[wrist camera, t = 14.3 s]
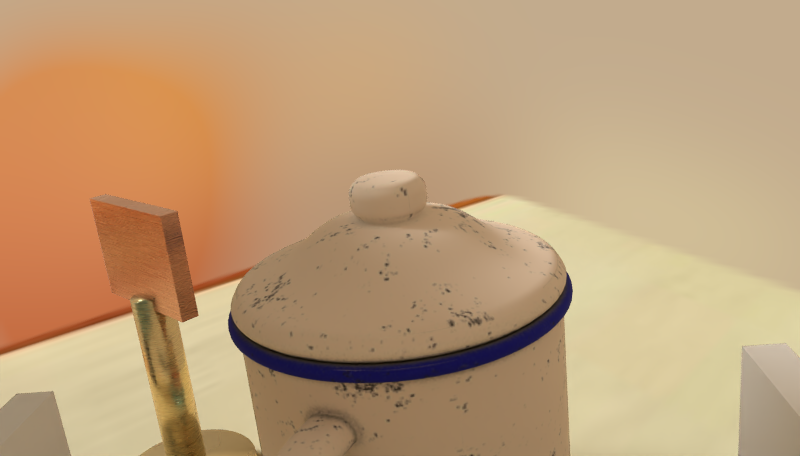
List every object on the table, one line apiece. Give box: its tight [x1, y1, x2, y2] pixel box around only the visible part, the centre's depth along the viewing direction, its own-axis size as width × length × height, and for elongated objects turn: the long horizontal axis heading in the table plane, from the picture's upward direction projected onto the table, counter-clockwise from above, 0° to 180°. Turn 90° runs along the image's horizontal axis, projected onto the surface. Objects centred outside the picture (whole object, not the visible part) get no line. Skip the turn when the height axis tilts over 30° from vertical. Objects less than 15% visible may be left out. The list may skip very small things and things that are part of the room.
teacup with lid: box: [228, 170, 573, 456], centre depth 20 cm, size 12×9×12 cm
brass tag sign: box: [90, 194, 257, 456], centre depth 27 cm, size 5×5×11 cm
